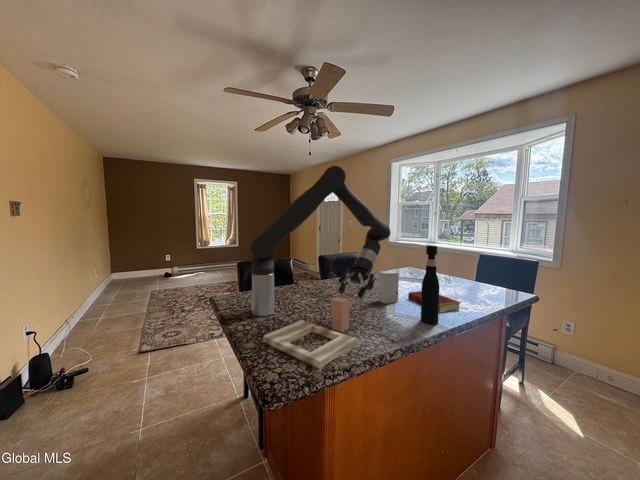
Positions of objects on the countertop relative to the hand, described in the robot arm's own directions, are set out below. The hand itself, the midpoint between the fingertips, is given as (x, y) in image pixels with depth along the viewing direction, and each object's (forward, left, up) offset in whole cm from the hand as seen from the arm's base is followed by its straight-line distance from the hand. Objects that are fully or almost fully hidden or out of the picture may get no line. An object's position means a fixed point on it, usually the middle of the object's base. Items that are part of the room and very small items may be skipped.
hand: (349, 295), depth 99 cm
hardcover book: (+17, +46, -12) cm, 51 cm away
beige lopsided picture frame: (-1, -22, -11) cm, 25 cm away
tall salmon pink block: (0, -6, -11) cm, 13 cm away
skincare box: (-1, +36, -11) cm, 38 cm away
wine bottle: (+23, +22, -11) cm, 34 cm away
